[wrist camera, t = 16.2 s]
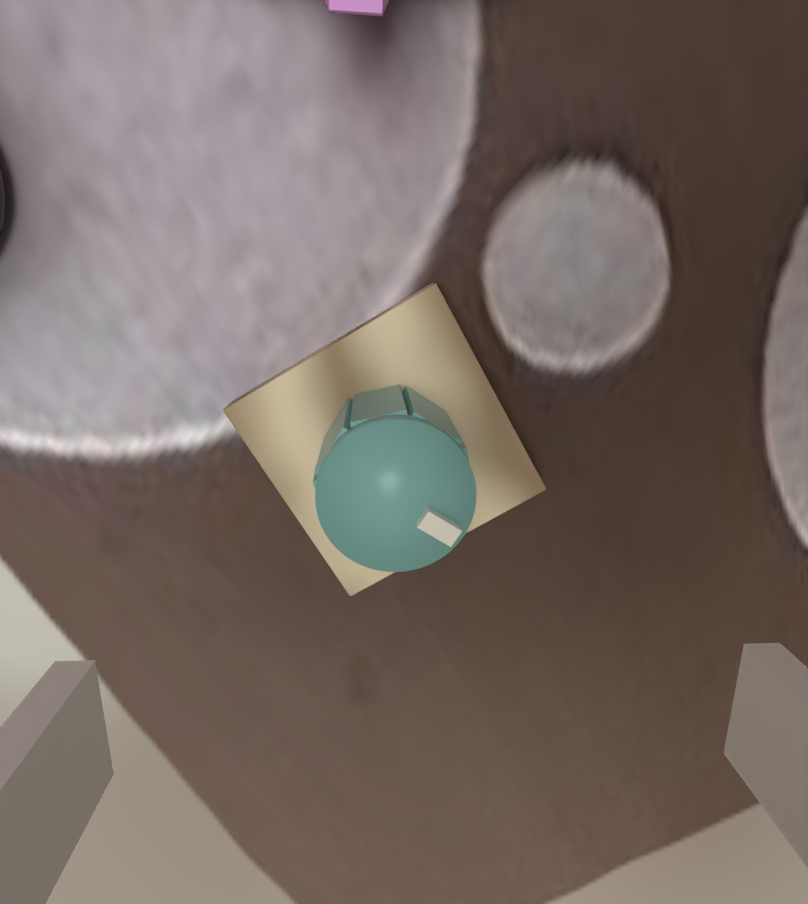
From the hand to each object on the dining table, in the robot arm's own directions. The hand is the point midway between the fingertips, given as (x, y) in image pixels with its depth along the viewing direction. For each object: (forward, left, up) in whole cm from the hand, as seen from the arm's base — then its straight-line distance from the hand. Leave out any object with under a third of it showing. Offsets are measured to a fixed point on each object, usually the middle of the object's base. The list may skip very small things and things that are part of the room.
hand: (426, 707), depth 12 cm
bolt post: (0, 0, -21) cm, 21 cm away
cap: (0, 0, -19) cm, 19 cm away
